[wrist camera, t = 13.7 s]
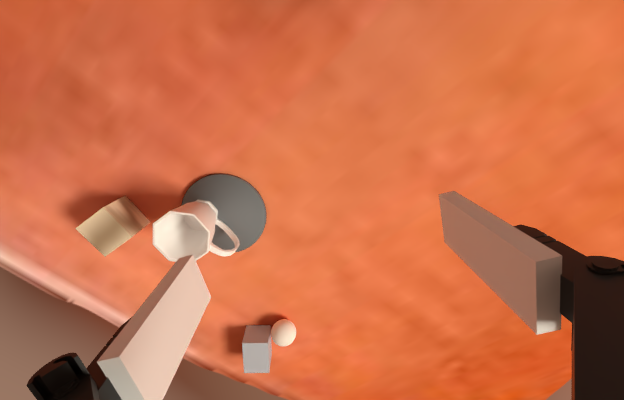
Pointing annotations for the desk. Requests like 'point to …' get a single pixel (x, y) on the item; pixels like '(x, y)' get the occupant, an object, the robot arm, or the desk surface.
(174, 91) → the desk surface
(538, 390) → the desk surface
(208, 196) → the coaster
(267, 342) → the greyblue block
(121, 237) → the birch block
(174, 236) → the cup
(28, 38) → the desk surface
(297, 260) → the desk surface
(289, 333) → the ball
